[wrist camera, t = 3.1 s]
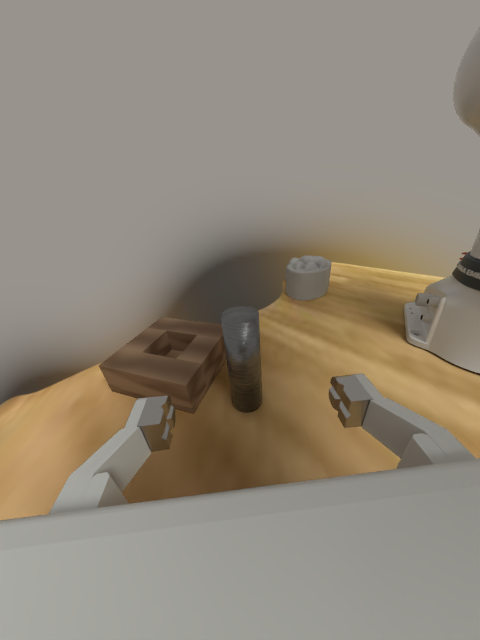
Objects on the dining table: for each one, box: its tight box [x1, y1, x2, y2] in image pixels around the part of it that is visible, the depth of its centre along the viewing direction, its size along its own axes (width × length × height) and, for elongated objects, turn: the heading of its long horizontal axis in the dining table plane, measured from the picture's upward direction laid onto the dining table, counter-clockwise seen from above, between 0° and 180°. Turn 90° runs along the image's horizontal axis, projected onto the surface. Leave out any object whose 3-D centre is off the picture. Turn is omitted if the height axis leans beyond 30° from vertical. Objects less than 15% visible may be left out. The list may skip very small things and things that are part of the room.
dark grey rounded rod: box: [221, 306, 262, 412], centre depth 26 cm, size 4×4×13 cm
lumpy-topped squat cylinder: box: [286, 256, 331, 300], centre depth 57 cm, size 10×13×9 cm
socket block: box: [99, 317, 226, 414], centre depth 35 cm, size 14×14×5 cm
